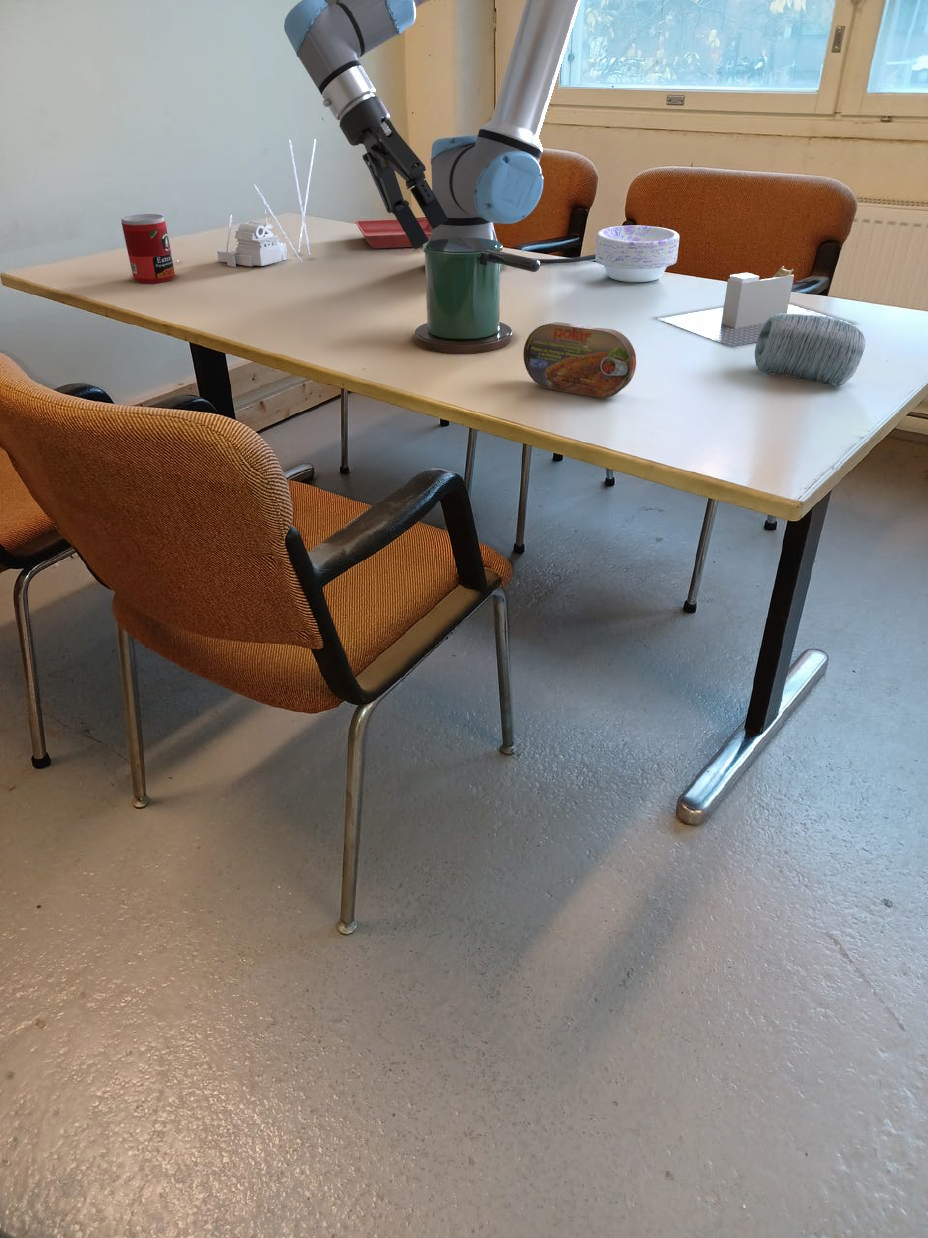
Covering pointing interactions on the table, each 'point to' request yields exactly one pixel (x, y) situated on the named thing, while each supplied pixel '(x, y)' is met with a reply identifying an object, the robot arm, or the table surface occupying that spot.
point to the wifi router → (263, 236)
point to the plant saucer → (389, 233)
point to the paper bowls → (636, 252)
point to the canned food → (148, 248)
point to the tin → (579, 359)
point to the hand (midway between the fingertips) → (431, 235)
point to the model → (743, 309)
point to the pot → (466, 285)
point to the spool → (809, 348)
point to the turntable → (463, 341)
